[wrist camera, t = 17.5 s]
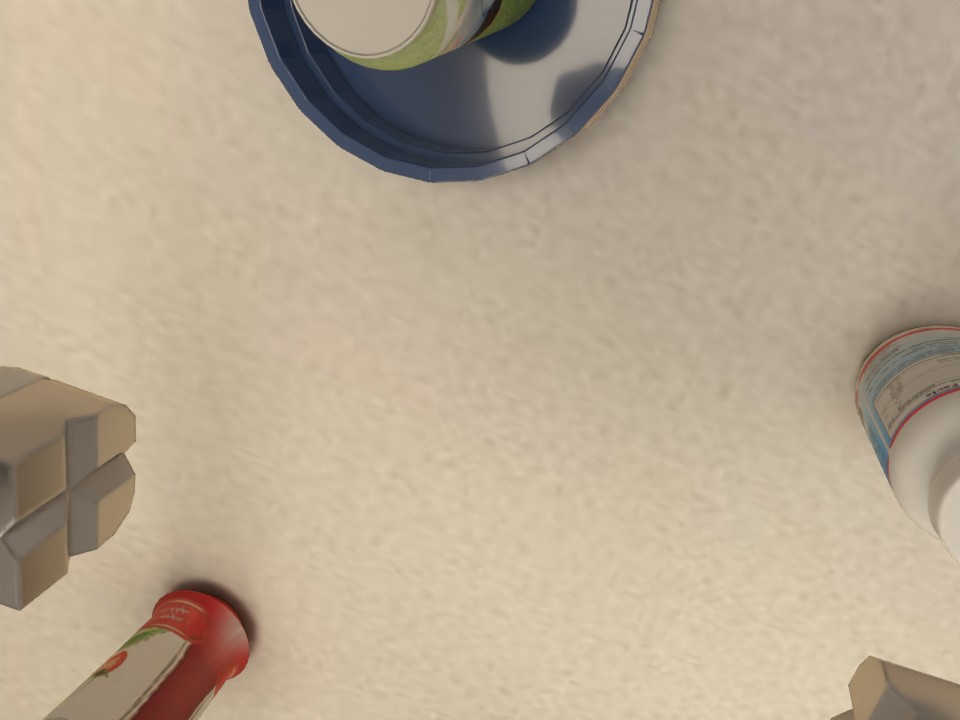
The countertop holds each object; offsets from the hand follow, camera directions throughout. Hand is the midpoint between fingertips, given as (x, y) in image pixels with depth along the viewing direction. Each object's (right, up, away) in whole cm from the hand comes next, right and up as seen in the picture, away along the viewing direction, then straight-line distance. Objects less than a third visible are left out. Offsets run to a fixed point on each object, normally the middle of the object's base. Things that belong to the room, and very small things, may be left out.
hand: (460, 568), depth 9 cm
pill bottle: (+20, +1, +26) cm, 33 cm away
